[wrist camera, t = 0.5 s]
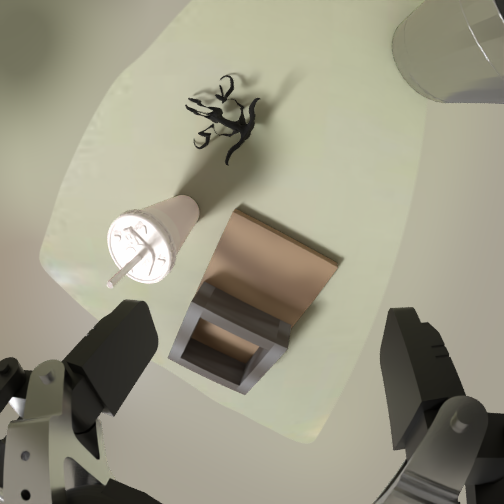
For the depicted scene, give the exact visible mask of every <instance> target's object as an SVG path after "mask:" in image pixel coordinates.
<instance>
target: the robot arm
mask: <svg viewBox="0 0 504 504" xmlns="http://www.w3.org/2000/svg"><path fill="white" fill-rule="evenodd" d="M392 51H393V56H394V60H395V62H396V65H397V67H398V69H399V71H400V73H401V74H402V76H403V78H404V79H405V80H406V81H407V82H408V84H409V85H410V86H411V87H412V88H413V89H415V90H416V91H417V92H418V93H419V94H421V95H423V96H424V97H426V98H428V99H431V100H433V101H435V102H441V103H499V104H504V0H425V1H424V2H423V3H422V4H421V5H420V6H419V7H418V8H417V9H416V10H415V11H413V12H412V13H411V14H410V15H409V16H408V17H407V18H406V19H405V20H404V21H403V22H402V23H401V24H400V25H399V26H398V27H397V29H396V31H395V33H394V36H393V41H392ZM157 348H158V335H157V332H156V329H155V326H154V323H153V320H152V317H151V314H150V310H149V307H148V305H147V303H146V302H144V301H137V300H127V299H126V300H123V301H122V302H121V303H120V304H119V305H118V306H117V307H116V308H115V309H114V310H113V312H112V313H110V314H108V315H107V316H105V317H104V318H102V319H101V320H100V321H99V322H98V323H97V324H96V325H95V326H94V329H92V330H90V331H89V333H88V334H87V336H85V337H84V338H83V339H82V340H81V341H80V342H79V343H78V344H77V345H76V346H75V348H74V349H73V350H72V351H71V352H70V353H69V354H68V355H67V356H66V357H65V358H64V360H63V361H62V362H61V361H59V360H48V361H45V362H43V363H41V364H39V365H38V366H37V367H36V368H35V369H34V370H33V371H28V370H23V368H22V367H21V365H20V364H19V362H18V360H17V359H15V358H13V357H9V358H5V359H3V360H1V361H0V413H1V411H2V410H3V409H4V407H5V406H6V405H7V403H8V402H9V403H10V405H11V406H12V407H13V408H14V410H15V411H16V412H17V413H18V414H19V418H18V419H17V420H14V421H11V422H10V423H9V425H8V430H7V435H6V436H5V438H4V439H2V440H0V504H162V503H160V502H159V501H157V500H155V499H154V498H152V497H151V496H149V495H148V494H146V493H145V492H142V491H139V490H137V489H134V488H131V487H129V486H127V485H125V484H122V483H120V482H118V481H116V479H115V477H114V475H113V474H112V472H111V471H110V469H109V466H108V463H107V458H106V452H105V446H104V440H103V432H102V424H101V420H100V419H99V417H98V416H99V415H100V413H101V412H102V413H105V414H107V415H110V416H113V417H114V416H115V414H116V413H117V411H118V410H119V408H120V407H121V405H122V403H123V402H124V400H125V399H126V397H127V396H128V394H129V393H130V391H131V389H132V388H133V386H134V385H135V383H136V382H137V380H138V378H139V377H140V375H141V374H142V372H143V371H144V369H145V368H146V366H147V365H148V363H149V362H150V360H151V359H152V357H153V356H154V354H155V352H156V351H157ZM380 365H381V370H382V376H383V381H384V386H385V393H386V399H387V404H388V411H389V418H390V426H391V434H392V442H393V450H400V449H406V460H405V461H404V462H403V464H402V465H401V467H400V468H399V469H398V471H397V472H396V474H395V475H394V477H393V478H392V479H391V481H390V482H389V483H388V485H387V486H386V487H385V489H384V490H383V491H382V493H381V494H380V495H379V496H378V497H377V499H376V500H375V501H374V502H373V503H372V504H460V502H458V496H459V493H460V492H461V490H462V488H463V486H464V485H465V486H466V498H467V504H504V414H500V413H487V412H486V409H485V408H484V406H483V405H482V404H481V403H480V402H479V401H477V400H476V399H474V398H472V397H469V396H466V394H465V392H464V389H463V387H462V384H461V381H460V379H459V376H458V374H457V372H456V369H455V367H454V365H453V363H452V360H451V357H449V353H448V351H447V349H446V347H445V346H444V342H443V340H442V338H441V336H440V334H439V332H438V331H437V330H436V329H435V328H434V327H433V326H431V325H430V324H429V323H428V322H426V323H421V322H420V319H419V318H418V315H417V313H416V311H415V309H414V308H413V307H406V308H390V309H389V311H388V315H387V320H386V325H385V330H384V335H383V339H382V344H381V349H380Z"/></svg>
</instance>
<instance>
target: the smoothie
mask: <svg viewBox="0 0 504 504" xmlns="http://www.w3.org/2000/svg"><path fill="white" fill-rule="evenodd" d="M199 214H200V213H199V207H198V205H197V203H196V202H195V201H194V200H193V199H192V198H191V197H189V196H186V195H178V196H175V197H173V198H170V199H167V200H164V201H162V202H159V203H156V204H154V205H151V206H149V207H146V208H143V209H141V210H137V209H134V210H129V211H126V212H124V213H123V214H121V215H120V216H119V217H118V218H116V219H115V220H114V221H113V222H112V224H111V226H110V228H109V231H108V247H109V251H110V254H111V256H112V258H113V260H114V262H115V264H116V265H117V266H118V267H119V269H120V271H119V272H118V273H116V274H115V275H114V276H113V277H112V278H111V279H110V280H109V281H108V282H107V286H108V287H109V288H113V287H114V286H115V285H116V284H117V283H118V282H119V281H120V280H121V279H122V278H123V277H124V276H125V275H127V276H128V277H130V278H132V279H133V280H135V281H138V282H141V283H156V282H158V281H160V280H162V279H163V278H164V277H165V276H166V275H167V274H168V273H169V272H171V270H172V268H173V266H174V265H175V260H176V255H177V254H178V252H179V250H180V248H181V247H182V245H183V243H184V242H185V240H186V238H187V237H188V235H189V234H190V232H191V230H192V229H193V227H194V226H195V224H196V222H197V221H198V219H199Z"/></svg>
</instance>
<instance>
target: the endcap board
mask: <svg viewBox="0 0 504 504" xmlns="http://www.w3.org/2000/svg"><path fill="white" fill-rule="evenodd" d="M337 268H338V265H337V262H335V261H333V260H331V259H329V258H328V257H326V256H324V255H322V254H320V253H318V252H317V251H315V250H313V249H311V248H309V247H307V246H306V245H304V244H302V243H300V242H298V241H296V240H294V239H292V238H291V237H289V236H287V235H285V234H283V233H281V232H279V231H277V230H276V229H274V228H272V227H270V226H268V225H266V224H264V223H262V222H260V221H258V220H257V219H255V218H253V217H251V216H249V215H247V214H245V213H243V212H241V211H239V210H237V209H235V210H234V211H233V213H232V215H231V217H230V219H229V221H228V223H227V226H226V228H225V230H224V232H223V234H222V236H221V238H220V241H219V243H218V245H217V247H216V249H215V252H214V254H213V256H212V258H211V260H210V263H209V265H208V267H207V269H206V271H205V274H204V276H203V278H202V280H201V283H200V285H199V287H198V289H197V292H196V294H195V296H194V298H193V300H192V301H191V303H190V306H189V308H188V310H187V313H186V315H185V317H184V320H183V322H182V324H181V327H180V329H179V332H178V334H177V336H176V339H175V341H174V344H173V346H172V348H171V351H170V353H169V356H168V359H170V360H172V361H174V362H176V363H178V364H180V365H182V366H184V367H186V368H187V369H189V370H191V371H193V372H196V373H198V374H200V375H202V376H204V377H206V378H208V379H210V380H212V381H214V382H216V383H219V384H221V385H223V386H225V387H228V388H230V389H232V390H234V391H237V392H239V393H241V394H244V395H245V394H246V393H247V392H248V391H249V390H250V389H251V388H252V387H253V386H254V385H255V384H256V383H257V382H258V381H259V380H260V379H261V378H262V377H263V376H264V374H265V373H266V372H267V371H268V370H269V369H270V368H271V367H272V366H273V365H274V364H275V362H276V361H277V360H278V359H279V358H280V357H281V356H282V355H283V353H284V352H285V351H286V350H287V349H288V343H289V337H290V330H291V328H292V327H293V326H294V325H295V323H296V322H297V321H298V320H299V318H300V317H301V316H302V314H303V313H304V312H305V311H306V309H307V308H308V307H309V306H310V304H311V303H312V302H313V300H314V299H315V298H316V296H317V295H318V294H319V292H320V291H321V290H322V288H323V287H324V286H325V284H326V283H327V282H328V280H329V279H330V278H331V276H332V275H333V274H334V272H335V271H336V269H337Z"/></svg>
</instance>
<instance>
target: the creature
mask: <svg viewBox="0 0 504 504" xmlns="http://www.w3.org/2000/svg"><path fill="white" fill-rule="evenodd" d="M223 77H229V78H230V83H231V87H230V89H229V90H228V91H227V92H226V94H225V96H224V97H223V93H222V88H221V85H220V89H221V93H222V96H221V95H218V94H216V95H215V96H216V98H218V99H219V100H221V101H222V104H223V103H224V102H225V101H226V100H227V97H228V96H229V95H230V94H231V92H232V91H233V90H234V82H233V79H232V77H231V76H228V75H226V76H223ZM223 77H222V78H223ZM222 78H221V79H222ZM221 79H220V80H221ZM188 99H189V100H190V101H192V102H195V103H197V105H199V106H203V107H206V106H204V105H202V104H201V101H200V100H197V99H192V98H191V99H190V98H188ZM259 99H260V98H256V99H254V100H253V102H252V103H251V105H250V106H249V114H250V121H249V123H248V124H246V121H245V118H244V114H243V109H244V106H242V105H240V104H239V103H237V101H236V100H235V99H232V100H235V101H236V103H237V104H238V105H239V106H240V107H241V108H240V109H241V115H240V118H239V120H238V121H230V120H227V119H225V118H224V117H223V116H222V114H223V111H222V109H220V108H217V107H207V108H209V109H211V110H213V111H212V112H210V113H207V114H206V115H209V114H210V115H209V116H204V115H201V114H199V113H198V112H199V111H197V110H195V109H193V108H190V107H188V106H187V105H185V106H186V108H187V110H189V111H191V112H193V113H194V114H196V115H201V116H204V117H205V118H208V119H210V120H211V121H212V122H214V123H218V122H219V123H221V124H223V125H225V126H227V127H229V128H231V129H232V130H233V133H232V134H222V135H225V136H229V137H231V136H232V135H234V134H237V133H239V132H240V134H241V138H240V141H239V142H238V143H237V144H235V145H234V146H232V147H231V148H230V149H229V151H228V153H227V156H226V160H225V163H226V165H228V161H229V158H230V156H231V154H232V153H233V152H234V151H235V150H237V149H238V148H239V147H240V146H241V145H242V143H243V142H244V141H245V140H246V139H248V138H249V137H250V135H251V131H252V129H253V128H254V125H255V122H254V120H255V113H254V107H255V104H256V102H257V101H258V100H259ZM228 100H229V99H228ZM200 113H201V112H200ZM203 114H205V113H204V112H203ZM211 127H212V128H214V125H213V124H212V125H211V126H210V127H208V128H207V129H209V128H211ZM207 129H206V130H207ZM206 130H204V131H206ZM204 131H201V132H199V133H198V134H199V135H201V136H204V137H206V143H205V144H203V145H202V146H201V147H197V146H196V145H195V142H194V145H195V147H196V148H198V149H202V148H204V147H206V146H207V145H208V144H209V141H210V135H211V133H204ZM214 131H215V130H214ZM216 134H217V133H216ZM219 136H220V135H219ZM228 166H229V165H228Z"/></svg>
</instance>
